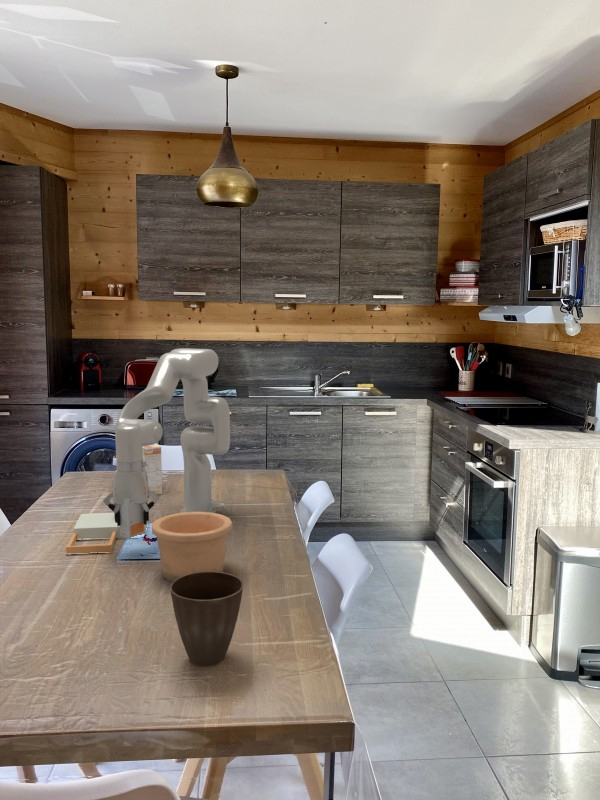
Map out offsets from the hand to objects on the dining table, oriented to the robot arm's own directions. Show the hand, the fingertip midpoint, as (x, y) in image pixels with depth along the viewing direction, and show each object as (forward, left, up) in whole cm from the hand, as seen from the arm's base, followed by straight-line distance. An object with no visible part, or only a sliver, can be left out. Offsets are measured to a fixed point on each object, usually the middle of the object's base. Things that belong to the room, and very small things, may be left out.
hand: (132, 523), depth 205 cm
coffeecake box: (-1, -71, -9) cm, 72 cm away
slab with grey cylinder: (+8, -15, -9) cm, 19 cm away
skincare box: (0, 0, -4) cm, 4 cm away
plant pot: (-21, +67, -9) cm, 70 cm away
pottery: (-18, +19, -9) cm, 27 cm away
